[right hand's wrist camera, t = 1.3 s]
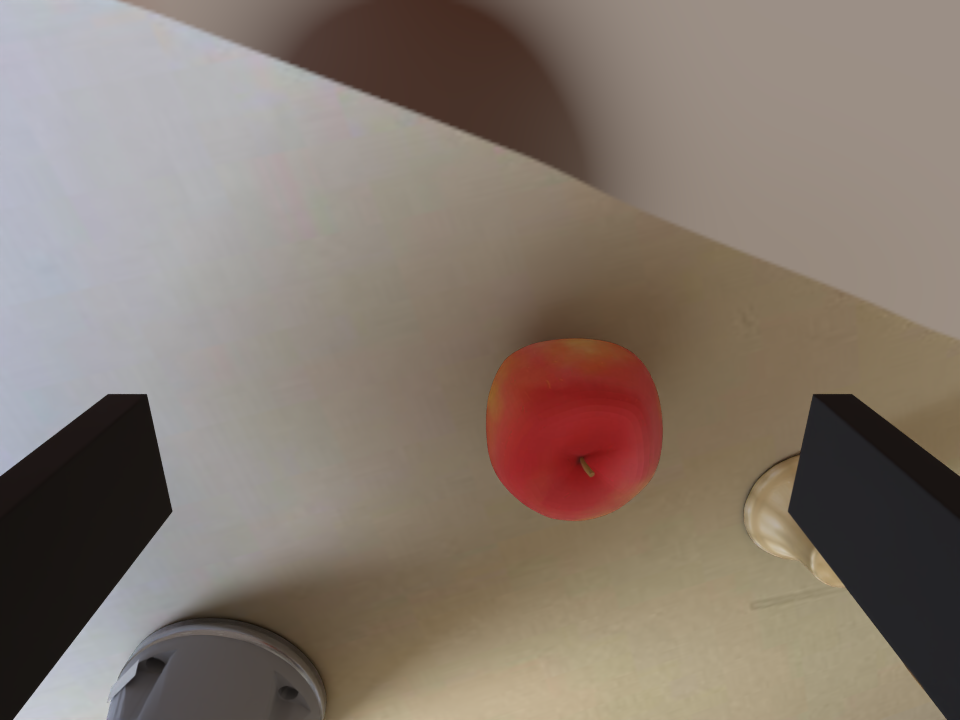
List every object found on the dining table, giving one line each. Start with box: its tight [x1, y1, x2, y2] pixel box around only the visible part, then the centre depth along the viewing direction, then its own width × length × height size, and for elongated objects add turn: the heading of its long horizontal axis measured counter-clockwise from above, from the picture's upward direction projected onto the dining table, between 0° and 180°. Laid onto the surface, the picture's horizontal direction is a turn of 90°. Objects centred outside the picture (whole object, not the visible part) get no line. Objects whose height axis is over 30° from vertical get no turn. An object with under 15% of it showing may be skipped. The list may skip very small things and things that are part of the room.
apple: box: [486, 338, 663, 521], centre depth 34 cm, size 10×10×10 cm
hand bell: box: [744, 455, 922, 687], centre depth 34 cm, size 8×8×16 cm
